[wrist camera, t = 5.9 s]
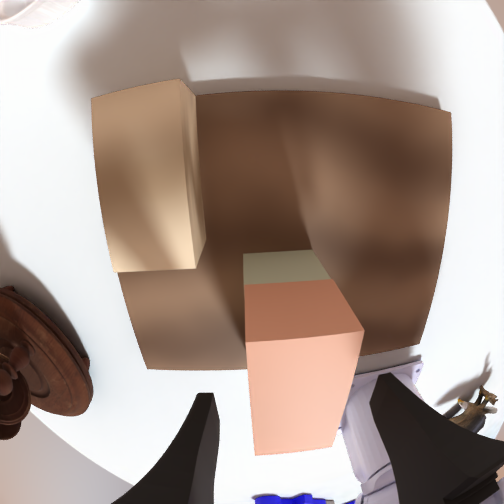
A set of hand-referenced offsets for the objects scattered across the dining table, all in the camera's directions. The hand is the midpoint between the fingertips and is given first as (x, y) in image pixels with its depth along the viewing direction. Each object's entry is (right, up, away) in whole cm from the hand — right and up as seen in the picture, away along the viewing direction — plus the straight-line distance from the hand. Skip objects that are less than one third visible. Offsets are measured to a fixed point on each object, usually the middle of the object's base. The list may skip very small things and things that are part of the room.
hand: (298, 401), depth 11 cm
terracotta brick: (0, +1, +3) cm, 3 cm away
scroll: (-23, -3, +10) cm, 25 cm away
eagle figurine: (+27, -15, +16) cm, 35 cm away
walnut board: (0, +7, +6) cm, 9 cm away
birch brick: (-7, +11, +4) cm, 13 cm away
